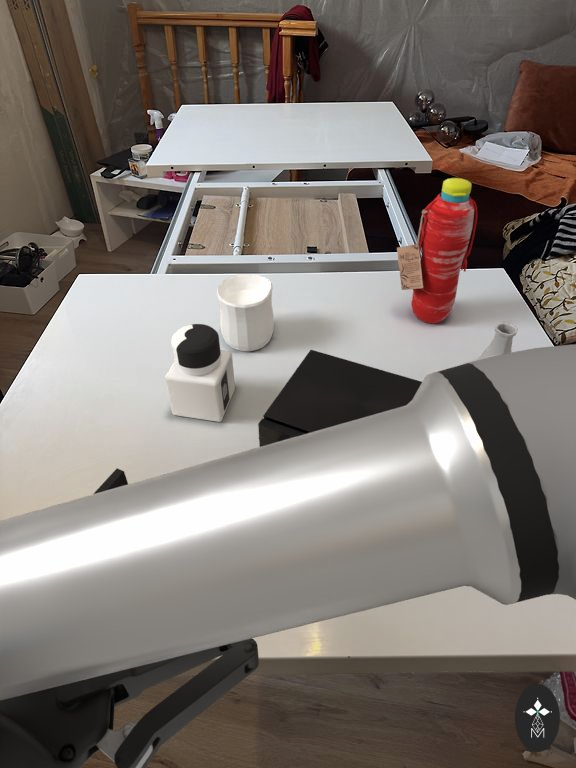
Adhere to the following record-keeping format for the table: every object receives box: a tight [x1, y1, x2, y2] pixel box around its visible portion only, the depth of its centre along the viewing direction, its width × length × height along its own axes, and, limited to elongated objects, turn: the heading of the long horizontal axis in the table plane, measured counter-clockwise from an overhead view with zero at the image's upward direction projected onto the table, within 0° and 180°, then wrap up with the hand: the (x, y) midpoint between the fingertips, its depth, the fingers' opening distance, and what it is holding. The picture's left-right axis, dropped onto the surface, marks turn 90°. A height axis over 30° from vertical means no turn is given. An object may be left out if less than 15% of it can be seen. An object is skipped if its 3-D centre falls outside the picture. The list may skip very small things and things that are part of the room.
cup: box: [216, 273, 275, 352], centre depth 91 cm, size 10×10×10 cm
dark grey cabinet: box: [262, 349, 423, 434], centre depth 65 cm, size 13×18×15 cm
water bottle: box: [396, 177, 479, 324], centre depth 90 cm, size 12×8×25 cm, turn 89°
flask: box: [475, 321, 519, 361], centre depth 82 cm, size 7×7×10 cm
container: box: [164, 323, 236, 423], centre depth 77 cm, size 8×8×13 cm
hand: (192, 508), depth 43 cm, fingers open, 13 cm apart
